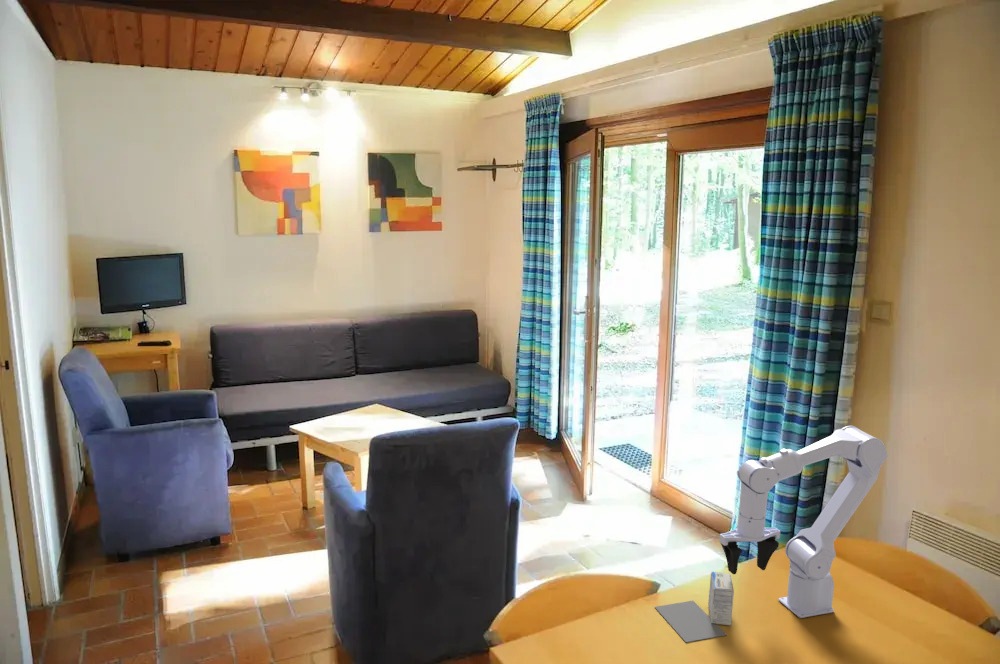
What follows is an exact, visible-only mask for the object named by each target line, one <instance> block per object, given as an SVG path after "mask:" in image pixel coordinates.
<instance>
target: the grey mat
mask: <svg viewBox="0 0 1000 664" xmlns="http://www.w3.org/2000/svg"><path fill="white" fill-rule="evenodd" d="M654 608H655V610H656V611H657V612H658V613H659V615H661V617H663V619H664V620H665V621H666V622H667V623H668V624H669V626H670V627H672V629H673V630H674V632H676V634H677V635H679V636H680V638H681V639H682V640H683V641H684V642H685V644H686V643H693V642H698V641H704V640H710V639H714V638H715V639H716V638H719V637H725V636H728V634H727V633H726V632H725V631H724V630H723V629H722V628H721V627H720V626H719V624H715V623H711V618H710V615H709V614H707V613H706V612H705V611H704V609H702V607H700V606H699V604H697V603H696V602H695V601H694V600H689V601H687V600H686V601H682V602H676V603H670V604H669V603H668V604H665V605H664V604H663V605H658V606H654Z"/></svg>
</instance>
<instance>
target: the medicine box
mask: <svg viewBox="0 0 1000 664" xmlns="http://www.w3.org/2000/svg"><path fill="white" fill-rule="evenodd" d="M709 580H710V581H709V591H708V592H709V593H708V602H707V603H708V604H707V605H708V609H709V611H708V612H709V617H710V618H711V623H715V624H717V625H724V626H731V625H732V620H733V619H732V617H733V616H732V615H733V608H734V607H733V606H734V595H735V590H734V589H735V588H734V586H733V585H734V584H733V580H732V575H731V573H727V572H718V571H711V573H710V579H709Z"/></svg>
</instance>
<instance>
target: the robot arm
mask: <svg viewBox="0 0 1000 664" xmlns="http://www.w3.org/2000/svg"><path fill="white" fill-rule="evenodd" d="M778 451H779V452H777V453H774V454H772V455H769V456H766V457H764V456H763V457H760V458H759V460H756V459H755V460H754V459H750V460H747V461H745V462H743V463H742V464H741V466H740V467H739V470H737V471H736V474H737V478H738V479H739V481H740V496H739V505H738V506H739V507H738V515H737V516H738V519H737V525H736V528H734V529H732V530H730V531H726V532H724V533H720V534H719V539H718V541H719V543H720V545H721V547H722V549H723V552H724V556H725V558H726V562H727V569H728V571H729V572H730V574H732V575H736V574H737V572H738V566H739V560H740V557H741V554H742V552H743V550H742V548H740V547H739V544H738V543H744V542H748V543H749V542H750V543H751V542H752V543H756V545H757V557H756V566H757V568H760V570H761V571H765V570H766V569H767V566H768V564H769V561H770V559H771V557H772V555H773V554H774V553H775V551H776V550H777V549H778V548H779V545H780V542H779V541H777V540H779V539H780V538H781V530H780V529H778V528H777V527H766V526H765V525H766V516H767V507H768V505H767V504H768V497H769V496H768V495H769V492H770V491H771V490H772V489H773V488H774V486H775V485H776V484H778V482H781V481H784V480H786V479H788V478H791V477H793V476H797V475H799V474H801V472H802V471H803V469H804V467H805V466H808V465H811V464H815V463H817V462H821V461H823V460H826V459H827V460H828V459H831V458H833V457H840V458H845V460H846V463H847V468H848V471H849V472H848V473H847V475H846V476H845V477H844V479H843V480H842V481H841V483H840V484H839V486H838V488H837V489H836V490H835V492H834V493H833V495H832V496H831V498H830V499H829V500H828V502H827V503H826V505H825V506H824V508H823V509H822V510H821V512H820V514H819V515H818V516H817V518H816V519H815V521H814V522H813V524H812V525H811V527H807V528H803V529H800V530H799V531H798V533H797V534H796V535H795V536H793V537H792V538H791V539H789V541H787V543H786V544H785V549H784V551H785V555H786V557H787V558H788V560H789V574H788V584H787V595H786V596H784V597H783V596H782V597H779V598H778V602H780V603H781V604H782V605H784V606H785V607H786V608H787V609H788V610H789V611H791V612H792V613H793V614H795V615H796V616H797V618H800V619H802V618H807V617H808V618H809V617H813V616H819V615H825V614H833V613H835V609H834V607H833V601H834V599H833V598H834V591H835V582H834V579H833V576H832V574H831V569H832V564H833V561H834V560H835V558H836V557H837V554H836V549H835V548H836V547H835V543H834V542H835V541H836V540H837V538H838V537H839V535H840V533H842V531H843V529H845V526H846V525H847V523H848V522H849V521H850V519H851V518H852V517H853V515H854V514H855V512H856V511H857V509H858V507H859V506H860V505H861V503H862V502H863V500H864V499H865V497H866V496H867V494H868V493H869V492H870V490H871V489H872V487H873V486H874V485H875V483H876V482H877V480H878V478H879V475H880V472H881V471H880V470H881V467H882V465H883V464H884V463H885V462H886V460H887V459H888V457H889V455H888V452H887V451H888V450H887V448H886V445H885V443H884V442H883V440H881V439H880V438H877V437H875V436H873V435H871V434H869V433H868V432H865V431H864V430H861V429H859V428H858V427H857V426H855V425H847V426H844V427H842V428H837V429H834V431H833V433H831V434H830V435H829V436H827V437H825V438H822V439H820V440H819V441H816V442H814V443H812V444H810V445H808V446H805V447H803V448H801V449H799V450H797V451H796V450H793V449H791V448H787V449H786V448H782V449H779V450H778Z"/></svg>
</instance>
